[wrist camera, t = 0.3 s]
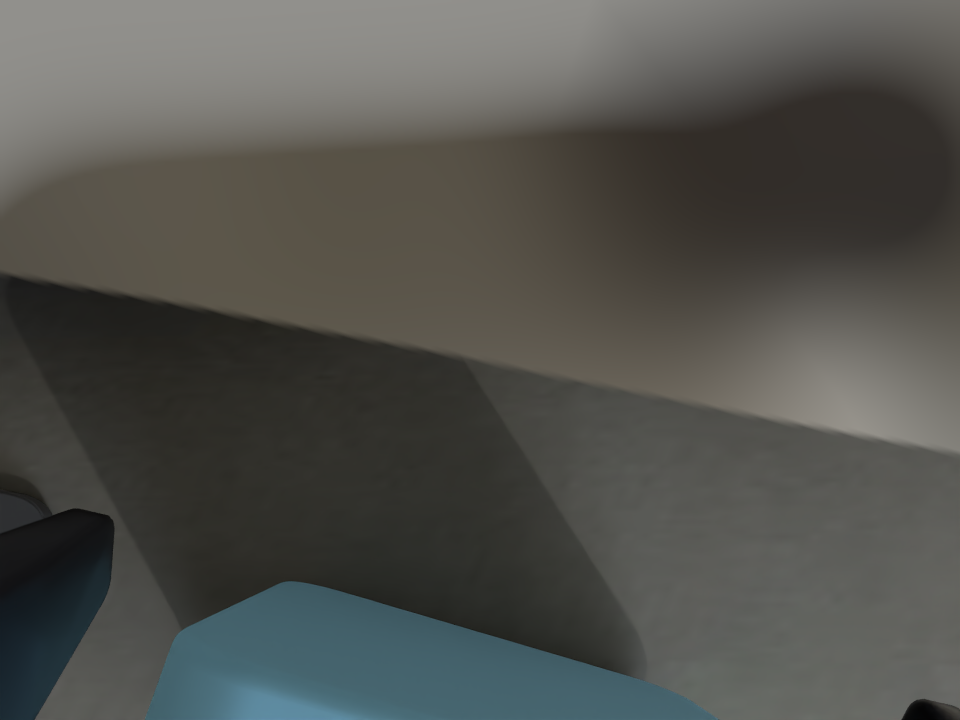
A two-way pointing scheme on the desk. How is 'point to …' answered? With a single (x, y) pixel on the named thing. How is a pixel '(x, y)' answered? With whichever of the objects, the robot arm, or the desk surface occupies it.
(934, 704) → the robot arm
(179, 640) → the data package
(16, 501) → the phone
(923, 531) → the desk surface
